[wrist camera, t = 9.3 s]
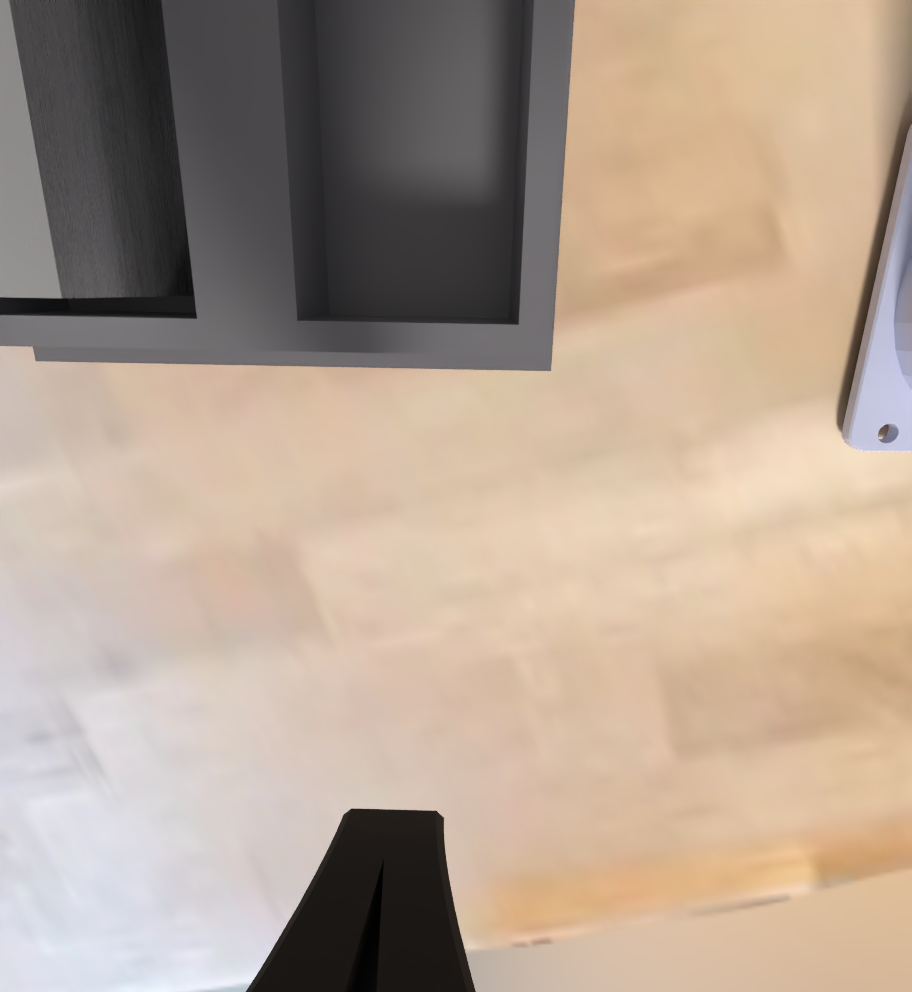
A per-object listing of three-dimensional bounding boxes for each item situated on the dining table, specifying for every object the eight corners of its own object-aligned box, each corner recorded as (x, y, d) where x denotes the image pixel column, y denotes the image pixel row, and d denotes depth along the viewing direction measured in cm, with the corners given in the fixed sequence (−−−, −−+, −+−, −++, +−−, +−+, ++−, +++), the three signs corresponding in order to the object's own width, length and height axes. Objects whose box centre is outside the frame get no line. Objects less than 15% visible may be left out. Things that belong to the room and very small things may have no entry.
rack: (583, -231, 13) (633, -457, 9) (545, 366, 16) (569, 389, 13) (-49, -236, 13) (-268, -461, 9) (60, 356, 16) (-61, 376, 13)
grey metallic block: (173, -122, 12) (-75, -468, 7) (216, 295, 15) (61, 298, 9) (26, -123, 12) (-344, -469, 7) (93, 293, 15) (-136, 294, 9)
